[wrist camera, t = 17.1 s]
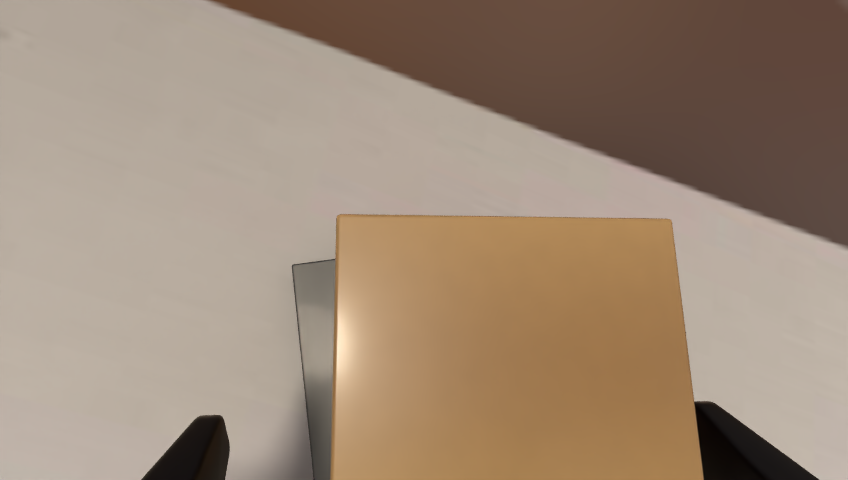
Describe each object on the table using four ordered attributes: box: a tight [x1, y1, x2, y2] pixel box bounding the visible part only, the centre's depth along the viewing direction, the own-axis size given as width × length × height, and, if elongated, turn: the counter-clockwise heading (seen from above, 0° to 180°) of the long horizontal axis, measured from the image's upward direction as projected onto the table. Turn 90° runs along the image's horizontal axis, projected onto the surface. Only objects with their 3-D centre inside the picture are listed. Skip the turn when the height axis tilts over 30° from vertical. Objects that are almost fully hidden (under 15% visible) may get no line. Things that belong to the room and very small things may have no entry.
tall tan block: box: [330, 214, 704, 480], centre depth 11 cm, size 4×4×11 cm
